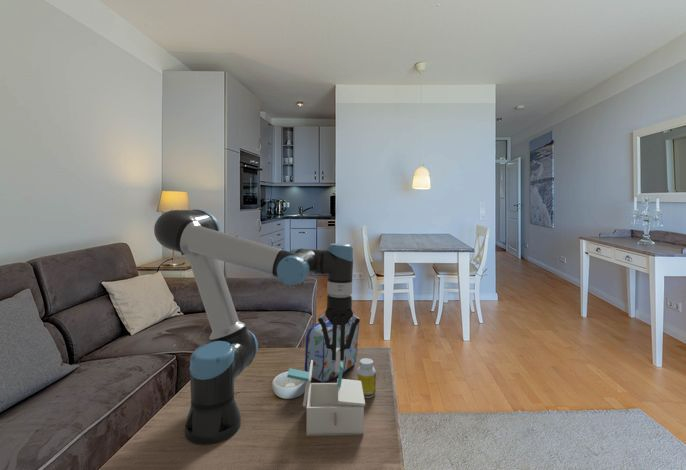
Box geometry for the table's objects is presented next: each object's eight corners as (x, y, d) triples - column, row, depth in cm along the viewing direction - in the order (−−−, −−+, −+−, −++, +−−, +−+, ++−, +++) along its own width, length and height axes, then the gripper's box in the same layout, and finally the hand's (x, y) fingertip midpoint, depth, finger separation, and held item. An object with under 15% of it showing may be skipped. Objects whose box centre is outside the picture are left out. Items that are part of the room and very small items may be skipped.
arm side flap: (305, 406, 98) (281, 401, 97) (308, 383, 111) (287, 379, 110) (310, 380, 97) (287, 376, 97) (313, 360, 110) (292, 356, 110)
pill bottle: (374, 399, 117) (375, 366, 116) (355, 397, 118) (355, 364, 117) (376, 390, 123) (377, 358, 122) (358, 388, 124) (358, 356, 124)
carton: (305, 440, 96) (306, 412, 95) (309, 407, 112) (309, 383, 111) (364, 440, 96) (364, 412, 96) (359, 406, 112) (359, 382, 112)
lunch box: (340, 356, 151) (341, 306, 150) (361, 361, 146) (362, 310, 144) (301, 382, 128) (301, 323, 126) (324, 390, 123) (325, 328, 121)
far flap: (360, 382, 111) (363, 362, 111) (364, 406, 98) (368, 383, 98) (337, 380, 111) (339, 360, 111) (338, 403, 98) (341, 380, 98)
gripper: (317, 297, 102) (316, 375, 104) (361, 298, 102) (359, 376, 104) (318, 291, 109) (317, 364, 111) (359, 292, 110) (357, 365, 112)
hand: (337, 370), depth 108 cm, fingers closed
